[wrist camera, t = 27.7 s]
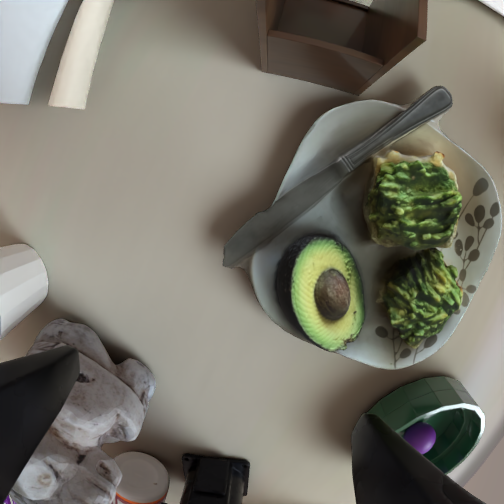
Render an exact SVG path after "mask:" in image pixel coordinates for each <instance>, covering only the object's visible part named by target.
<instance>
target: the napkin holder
mask: <svg viewBox="0 0 504 504" xmlns="http://www.w3.org/2000/svg"><path fill="white" fill-rule="evenodd" d="M427 2H428V0H373V2H372V3H371V5H370V6H369V7H368V6H365V5H362V4H359V3H356V2H352V1H349V0H256V9H257V20H258V31H259V43H260V55H261V67H262V72H266V73H272V74H277V75H281V76H286V77H291V78H295V79H299V80H304V81H308V82H312V83H316V84H320V85H323V86H327V87H331V88H334V89H338V90H341V91H345V92H348V93H352V94H355V95H358V96H359V95H360V94H361V93H362V92H364V91H365V90H366V89H367V88H368V87H369V86H371V85H372V84H373V83H374V82H375V81H377V80H378V79H379V78H380V77H381V76H383V75H384V74H385V73H386V72H387V71H389V70H390V69H391V68H392V67H394V66H395V65H396V64H397V63H398V62H400V61H401V60H402V59H403V58H405V57H406V56H407V55H408V54H410V53H411V52H412V51H413V50H415V49H416V48H417V47H418V46H420V45H421V44H422V43H423V42H425V41H426V34H427Z"/></svg>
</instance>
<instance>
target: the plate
mask: <svg viewBox="0 0 504 504" xmlns="http://www.w3.org/2000/svg"><path fill="white" fill-rule="evenodd" d="M478 1H480V2H482V3H483V4H485V5H487V6H488V7H490V8H491V9H493V10H494V11H496V12H497V13H499V14H500V15H502V16H503V17H504V0H478Z"/></svg>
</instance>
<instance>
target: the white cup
mask: <svg viewBox="0 0 504 504" xmlns="http://www.w3.org/2000/svg"><path fill="white" fill-rule="evenodd" d="M48 284H49V282H48V277H47V271H46V268H45V266H44V264H43V261H42V259H41V257H40V256H39V255H38V254H37V253H36V251H35V250H34V249H33V248H31V247H30V246H28V245H26V244H14V245H9V246H4V247H0V340H1V339H2V338H3V337H4V336H6V335H7V334H8V333H9V332H10V331H11V330H12V329H13V328H14V327H15V326H16V325H17V324H19V323H20V322H21V321H22V320H23V319H24V318H25V317H26V316H27V315H29V314H30V313H31V312H32V311H33V310H34V309H35V308H37V307H38V306H39V305H40V304H41V303H42V302H43V301H44V299H45V297H46V296H47V293H48Z"/></svg>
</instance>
